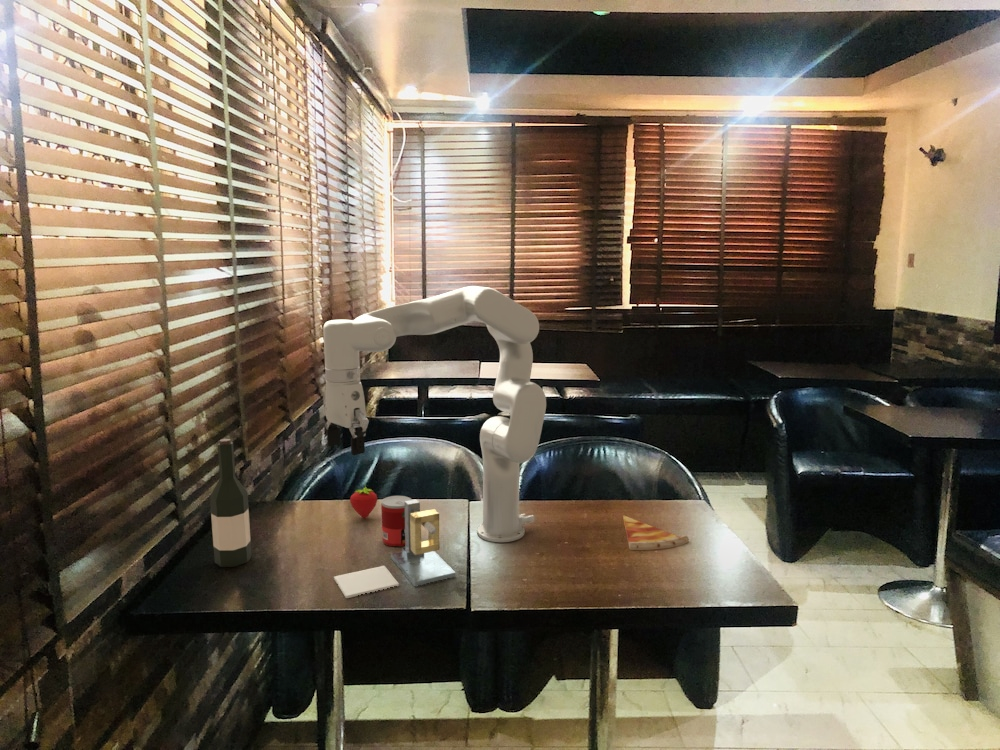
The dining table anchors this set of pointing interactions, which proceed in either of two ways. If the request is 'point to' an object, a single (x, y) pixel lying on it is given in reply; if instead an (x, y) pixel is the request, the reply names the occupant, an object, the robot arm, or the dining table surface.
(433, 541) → the rectangular frame block
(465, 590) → the dining table surface
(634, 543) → the pizza slice
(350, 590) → the pad
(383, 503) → the canned food
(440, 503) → the dining table surface
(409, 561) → the stand
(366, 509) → the strawberry
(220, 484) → the wine bottle
